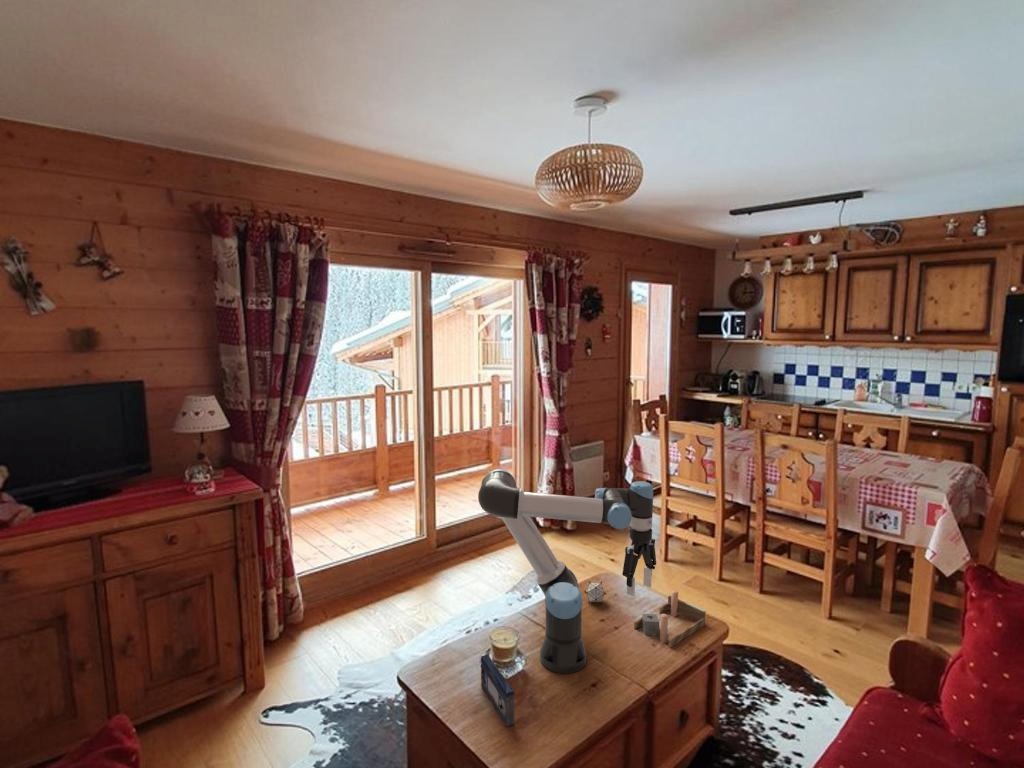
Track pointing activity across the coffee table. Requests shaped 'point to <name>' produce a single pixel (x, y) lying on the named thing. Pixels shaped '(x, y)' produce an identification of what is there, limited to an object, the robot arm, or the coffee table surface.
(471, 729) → the coffee table surface
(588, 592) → the game die
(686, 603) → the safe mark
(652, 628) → the dice cube
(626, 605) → the coffee table surface
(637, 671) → the coffee table surface
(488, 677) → the vhs cassette tape
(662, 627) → the pin near
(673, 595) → the pin far
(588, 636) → the coffee table surface
